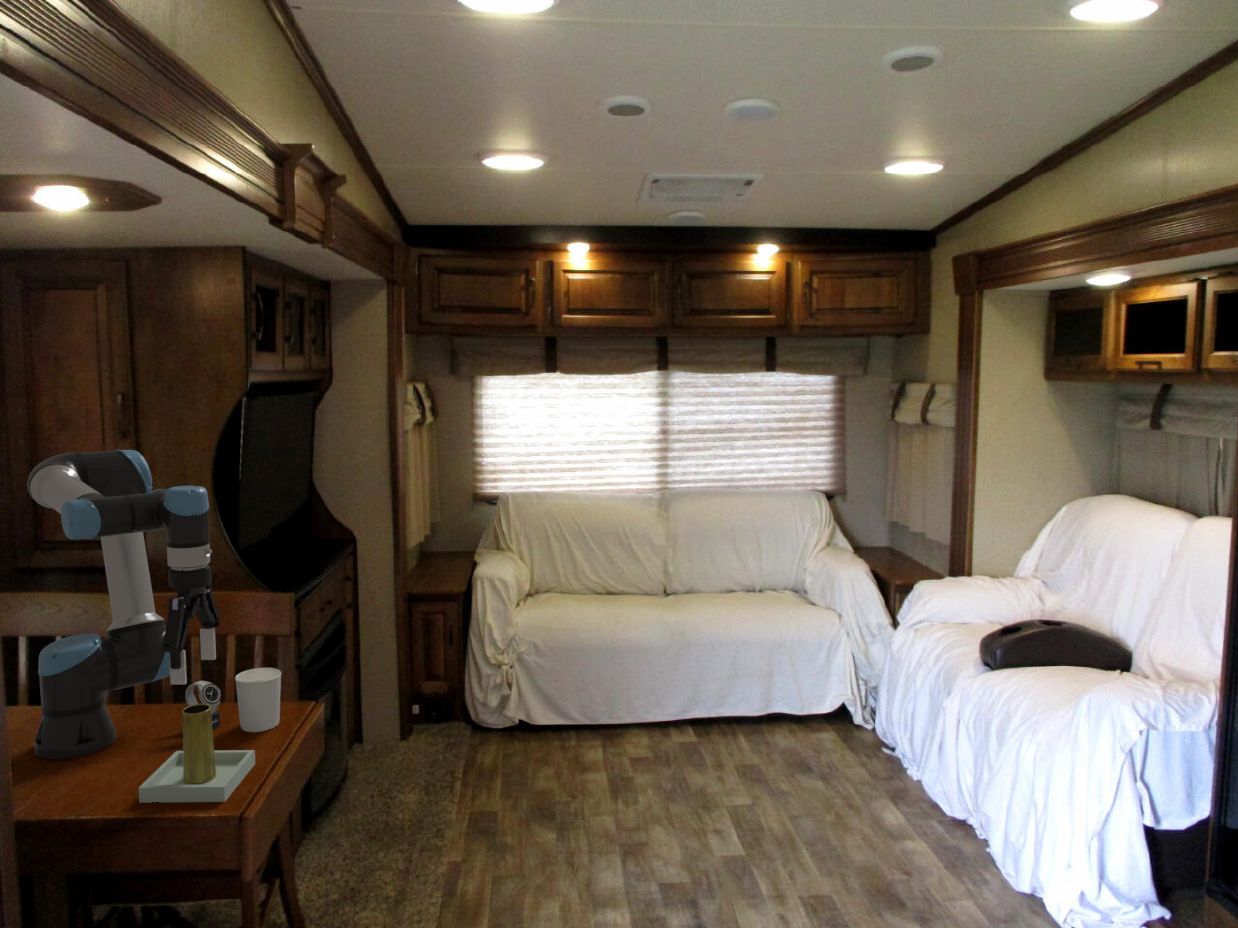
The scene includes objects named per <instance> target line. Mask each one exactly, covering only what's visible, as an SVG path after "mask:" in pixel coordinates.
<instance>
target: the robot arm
mask: <svg viewBox="0 0 1238 928" xmlns="http://www.w3.org/2000/svg"><path fill="white" fill-rule="evenodd" d="M152 477H153V476H152V474H151V470H150V467H149V465H148V462H147V461H146V459H145V457H144V456H143V455H142V454H141V453H140V452H139V451H137V450H133V449H119V448H118V449H117V448H116V449H110V450H100V451H99V450H97V451H95V450H94V451H82V452H65V453H59V454H56V455H53V456H51V457H49V458H46V459H44V460H43V461H41V462H39V464H37V465H36V466H34V468H33V469H32V470H31V472H30V473H29V475H28V478H27V483H26V485H27V491H28V493H29V496H30V497H31V498H32V499H33V501H35V502H36V503H37V504H38V505H40V506H42V507H44V508H47V509H52V510H54V511H56V512H57V513H58V514H59V515H60V519H61V521H60V522H61V526H62V531H63V532H64V535H65V537H66V538H68V539H70V540H82V539H84V540H91V539H95V538H100V542H101V543H100V544H101V549H102V555H103V562H104V563H103V564H104V567H105V575H106V582H107V590H108V594H109V602H110V609H111V615H112V616H111V617H112V622H111V624H110V625H109V626H108V627H107V629H106V634H107V637H106V638H102V637H101V636H100V635H99V634H98V633H93V632H92V633H91V632H90V633H89V632H87V633H79V634H74V635H70V636H65V637H63V638H61V639H58V640H55V641H52V642H51V643H49V644H47V645H46V646H45V647H43V648H42V650H41V651H40V652H39V655H38V668H37V669H38V670H37V674H38V675H39V688H40V690H39V691H40V705H41V719H40V722H39V724H38V728H37V731H36V735H35V738H34V742H33V743H34V744H33V746H34V755H36V756H37V758H40V759H44V760H68V759H74V758H79V757H84V756H88V755H90V754H94V753H96V752H99V751H102V750H104V749H106V748H108V747H109V746H111V745H112V744H113V743H114V742H115V741H116V740H117V739H116V738H117V737H116V734H117V733H116V727H115V725H114V722H113V720H112V718H111V715H110V713H109V711H108V710H107V707H106V703H105V693H108V692H112V691H117V690H121V689H125V688H130V687H135V686H140V685H144V684H150V683H154V682H155V681H159V680H160V681H161V680H163V679H166V678H169V677H170V678H169V679H170V680H169V682H170V685H187V683H188V682H187V681H188V678H187V657H186V656H187V655H186V649H184V647H185V642H186V639H187V635H188V631H189V627H190V624H191V621H192V620H193V619H194V617H195V616H196V618H197V619H198V621H199V624H200V625H201V628H200V629H199V639H200V640H199V641H200V660H201V661H215V660H216V659H217V649H216V648H217V647H216V628H219V627H220V626H221V622H220V614H219V610H218V607H217V603H216V600H215V597H214V593H213V589H212V588H213V587H212V568H211V567H212V566H211V565H210V564H209V563H210V562H211V554H212V553H213V550H212V549H211V548H210V547H211V546H210V544H211V542H210V541H211V540H210V539H211V537H210V536H211V535H210V513H209V512H210V510H209V509H210V502H209V496H208V491H207V489H206V488H205V487H203V486H201V485H197V486H195V485H179V486H173V487H168V488H167V489H161V488H160V489H155V490H153V485H152V484H153V478H152ZM160 530H161V531H162V530H166V531H165V532H166V555H167V556H166V557H167V561H166V562H167V566H168V567H169V569H168V570H167V571H168V572H167V573H168V575H167V576H168V586H169V588H170V589H173V590H176V591H177V592H176V593H177V594H176V598H169V599H168V613H167V617H166V618H167V619H166V622H165V619H164V618H163V616H161V615H159V614H158V613H156V607H155V602H154V594H153V588H152V587H153V586H152V582H151V575H150V570H149V569H150V568H149V562H148V557H147V550H146V544H145V538H144V532H153V531H160Z"/></svg>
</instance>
